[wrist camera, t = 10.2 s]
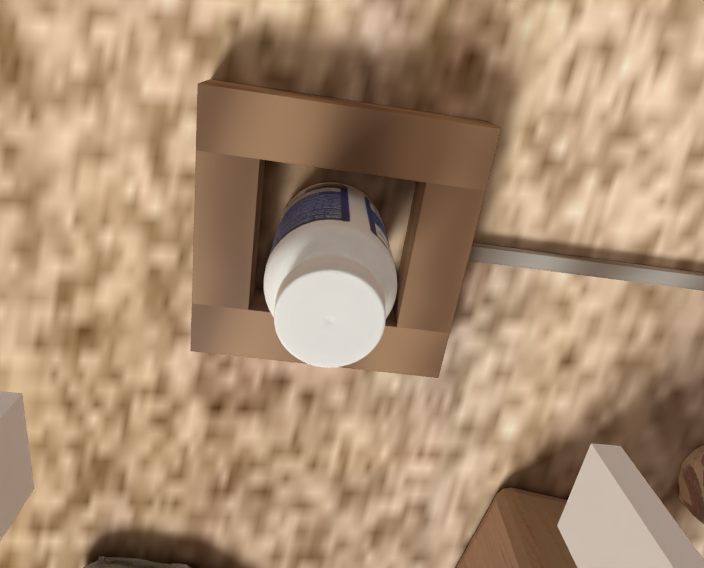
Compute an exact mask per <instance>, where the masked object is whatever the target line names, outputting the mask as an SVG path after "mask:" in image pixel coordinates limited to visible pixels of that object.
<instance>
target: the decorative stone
mask: <svg viewBox="0 0 704 568" xmlns="http://www.w3.org/2000/svg"><path fill="white" fill-rule="evenodd" d="M84 568H191V567H189V566H188V565H187V564H180V563H172V564H169V565H167V564H166V563H158V562H152V561H147V560H143V559H136V558H122V557H117V558H110V557H104V556H102V557H100V555H99V560H97V561H94V562H93V563H90V564H89V565H87V566H85V567H84Z"/></svg>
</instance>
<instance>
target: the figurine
mask: <svg viewBox="0 0 704 568" xmlns="http://www.w3.org/2000/svg"><path fill="white" fill-rule="evenodd" d="M678 481H679V488H680V494H679V498H680V501H681V502H682V503H683V504H684V505H685V506H686V507H687V508H688V509H689V510H690V512H691V513H692V514H693V515H694V516H695V517H696V518H697V519H698V520H700V521H701V522H702V523H703V524H704V445H702V446H700V447H698V448H697V449H695V450H694V451H693V452H692V453H691V454H690V455H689V456H688V457H687V458H686V459H685V460H684V461H683V463H682V464H681V470H680V474H679V477H678Z"/></svg>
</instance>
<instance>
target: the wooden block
mask: <svg viewBox="0 0 704 568" xmlns="http://www.w3.org/2000/svg"><path fill="white" fill-rule="evenodd" d="M567 501H568V500H565V499H561V498H556V497H552V496H547V495H543V494H538V493H534V492H529V491H525V490H520V489H516V488H505V489H502V490H501V491H499V492H498V493H497V494H496V496H495V498H494V500H493V502H492V503H491V505H490V507H489V509H488V511H487V512H486V514H485V516H484V518H483V520H482V521H481V523H480V525H479V527H478V529H477V530H476V532H475V534H474V536H473V538H472V539H471V541H470V543H469V545H468V547H467V548H466V550H465V552H464V554H463V556H462V557H461V559H460V561H459V563H458V565H457V566H456V568H577V566H576V564H575V562H574V560H573V558H572V555H571V553H570V551H569V549H568V547H567V545H566V543H565V541H564V539H563V537H562V535H561V532H560V530H559V528H558V526H557V525H558V522H559V520H560V518H561V515H562V513H563V510H564V508H565V505H566V503H567Z"/></svg>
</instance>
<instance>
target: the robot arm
mask: <svg viewBox="0 0 704 568" xmlns="http://www.w3.org/2000/svg"><path fill="white" fill-rule="evenodd" d="M33 489H34V485H33V477H32V469H31V460H30V452H29V444H28V436H27V428H26V420H25V412H24V404H23V396H22V393H12V392H0V540H1V539H2V537H3V536H4V534H5V533H6V531H7V530H8V528H9V526H10V525H11V523H12V522H13V520H14V519H15V517H16V516H17V514H18V513H19V511H20V509H21V508H22V506H23V505H24V503H25V502H26V500H27V499H28V497H29V496H30V494H31V492H32V491H33ZM557 526H558V528H559V530H560V532H561V535H562V537H563V539H564V541H565V543H566V545H567V547H568V549H569V551H570V553H571V555H572V558H573V560H574V562H575V564H576V566H577V568H704V559H703V558H702V557H701V555H700V554H699V552H698V551H697V550H696V548H695V547H694V546H693V544H692V543H691V542H690V540H689V539H688V537H687V536H686V535H685V533H684V532H683V531H682V529H681V528H680V526H679V525H678V524H677V522H676V521H675V520H674V518H673V517H672V515H671V514H670V513H669V511H668V510H667V509H666V507H665V506H664V505H663V503H662V502H661V500H660V499H659V498H658V496H657V495H656V494H655V492H654V491H653V489H652V488H651V487H650V485H649V484H648V483H647V481H646V480H645V479H644V477H643V476H642V474H641V473H640V472H639V470H638V469H637V468H636V466H635V465H634V463H633V462H632V461H631V459H630V458H629V457H628V455H627V454H626V452H625V451H624V450H623V448H622V447H621V446H616V445H605V444H593V443H591V445H590V447H589V450H588V452H587V454H586V457H585V459H584V462H583V464H582V467H581V469H580V471H579V474H578V476H577V479H576V481H575V484H574V486H573V488H572V491H571V493H570V496H569V498H568V501H567V503H566V505H565V508H564V510H563V513H562V515H561V518H560V520H559V522H558V525H557Z"/></svg>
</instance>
